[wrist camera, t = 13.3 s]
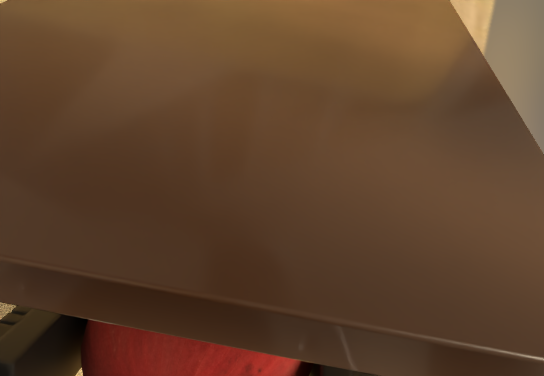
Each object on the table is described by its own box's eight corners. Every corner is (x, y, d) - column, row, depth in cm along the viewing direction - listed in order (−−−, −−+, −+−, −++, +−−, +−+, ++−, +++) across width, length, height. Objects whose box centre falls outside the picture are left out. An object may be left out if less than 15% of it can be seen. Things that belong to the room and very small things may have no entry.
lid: (641, 430, 5) (691, 388, 4) (-357, 235, 5) (-410, 180, 5) (442, 23, 16) (449, -1, 16) (123, -27, 17) (122, -51, 16)
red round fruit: (318, 347, 16) (318, 613, 9) (159, 347, 17) (24, 594, 9) (311, 186, 15) (302, 336, 7) (135, 193, 15) (-53, 336, 8)
